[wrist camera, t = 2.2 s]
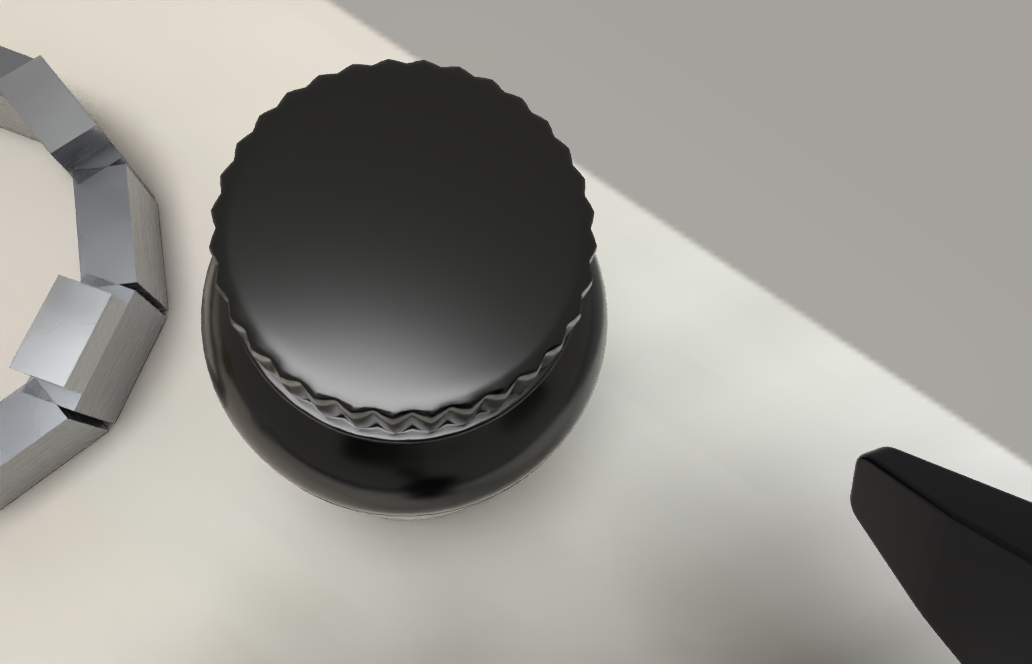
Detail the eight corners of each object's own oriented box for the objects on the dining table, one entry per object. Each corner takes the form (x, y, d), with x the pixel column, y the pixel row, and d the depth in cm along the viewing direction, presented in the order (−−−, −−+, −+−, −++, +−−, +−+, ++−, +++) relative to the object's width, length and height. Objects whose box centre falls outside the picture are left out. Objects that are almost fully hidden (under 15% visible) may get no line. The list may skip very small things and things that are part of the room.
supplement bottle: (546, 286, 22) (700, 36, 11) (523, 532, 21) (674, 550, 9) (302, 252, 22) (183, -57, 10) (257, 504, 20) (52, 485, 8)
